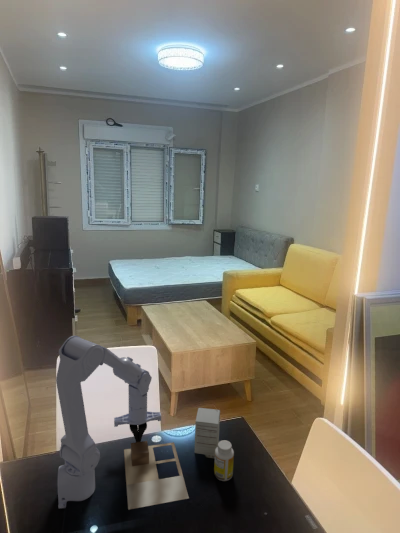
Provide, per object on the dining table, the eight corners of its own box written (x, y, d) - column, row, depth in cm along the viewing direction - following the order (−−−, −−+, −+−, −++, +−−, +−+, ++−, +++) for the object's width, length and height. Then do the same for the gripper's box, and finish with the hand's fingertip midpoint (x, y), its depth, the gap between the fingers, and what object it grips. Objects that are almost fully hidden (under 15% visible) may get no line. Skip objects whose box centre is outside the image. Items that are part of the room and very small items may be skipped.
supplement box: (197, 440, 120) (198, 406, 118) (219, 443, 120) (220, 409, 117) (193, 456, 113) (194, 421, 111) (217, 459, 112) (218, 423, 110)
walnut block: (132, 466, 107) (131, 454, 106) (130, 454, 112) (130, 443, 111) (148, 463, 108) (149, 452, 107) (147, 451, 113) (147, 440, 112)
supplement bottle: (230, 467, 110) (232, 437, 107) (234, 481, 104) (236, 451, 102) (212, 467, 109) (214, 438, 107) (215, 482, 104) (216, 452, 101)
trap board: (128, 513, 93) (128, 509, 93) (123, 452, 114) (123, 449, 113) (188, 501, 97) (188, 498, 97) (173, 445, 118) (174, 442, 117)
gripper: (159, 394, 118) (158, 430, 121) (113, 399, 114) (114, 436, 117) (162, 407, 111) (161, 445, 114) (114, 412, 108) (114, 452, 111)
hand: (137, 441), depth 115 cm, fingers closed
